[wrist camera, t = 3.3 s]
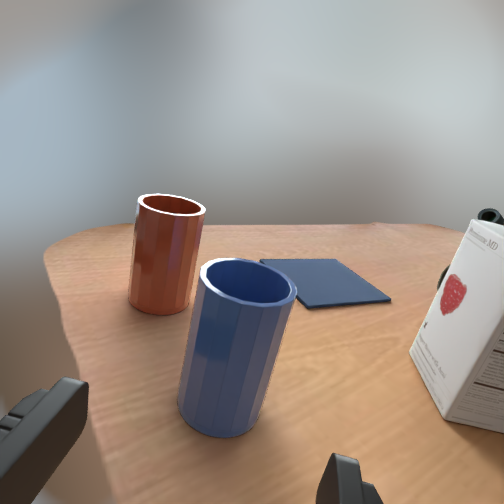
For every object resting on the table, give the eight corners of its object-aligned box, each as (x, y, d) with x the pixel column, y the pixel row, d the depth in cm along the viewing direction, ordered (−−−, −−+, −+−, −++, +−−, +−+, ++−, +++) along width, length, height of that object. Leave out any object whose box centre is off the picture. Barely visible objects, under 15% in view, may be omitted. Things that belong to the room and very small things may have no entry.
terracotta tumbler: (134, 317, 32) (145, 213, 28) (123, 284, 37) (132, 191, 33) (196, 312, 35) (214, 217, 31) (179, 282, 40) (193, 196, 36)
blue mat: (307, 308, 41) (308, 305, 41) (259, 261, 50) (260, 259, 50) (390, 301, 48) (391, 298, 47) (334, 261, 57) (335, 258, 57)
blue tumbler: (192, 448, 22) (222, 310, 18) (167, 378, 26) (187, 257, 23) (275, 426, 25) (315, 302, 21) (239, 366, 29) (267, 257, 26)
